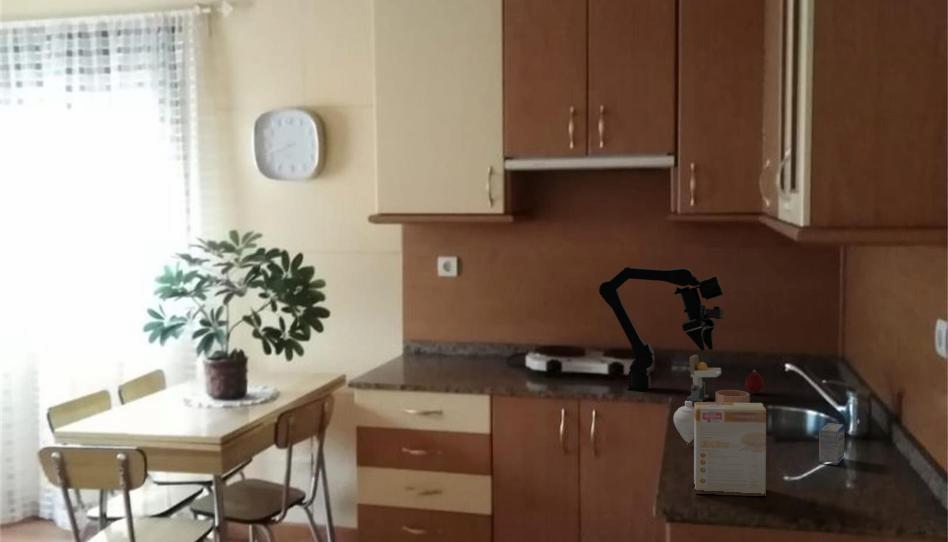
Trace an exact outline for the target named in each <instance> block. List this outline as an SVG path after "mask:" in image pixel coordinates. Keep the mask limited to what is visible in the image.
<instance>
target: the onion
mask: <svg viewBox="0 0 948 542" xmlns="http://www.w3.org/2000/svg"><path fill="white" fill-rule="evenodd" d="M744 385H745V388H746V390H748V391H749V393H751V394H752V395H756V394H757V393H758V392H760V391H761V390H762V389H763V387H764V379H763V377H762V375H760V374H759V373H758V372H757V370H756V369H753V370H752V372H751V373H749V374H748V375H747V376H746V378H745V380H744Z"/></svg>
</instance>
